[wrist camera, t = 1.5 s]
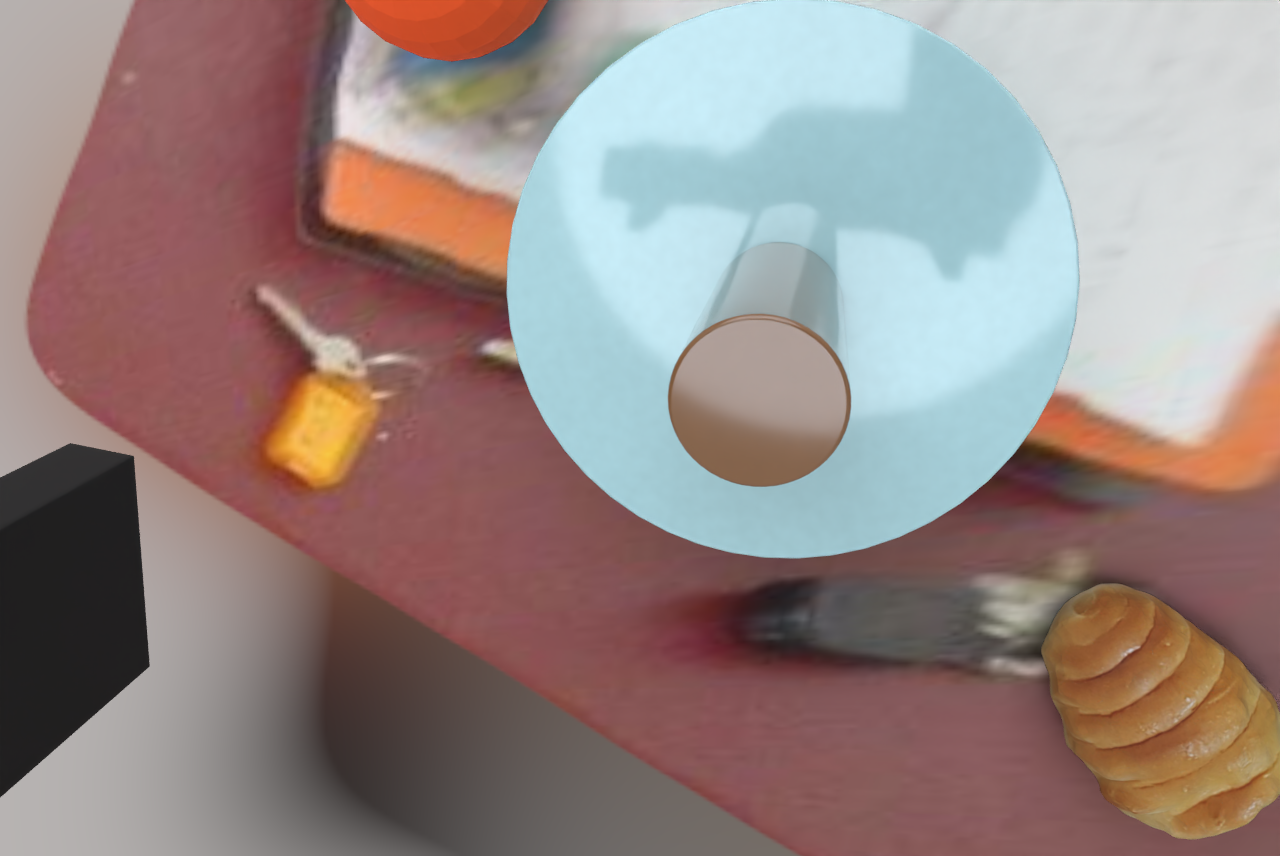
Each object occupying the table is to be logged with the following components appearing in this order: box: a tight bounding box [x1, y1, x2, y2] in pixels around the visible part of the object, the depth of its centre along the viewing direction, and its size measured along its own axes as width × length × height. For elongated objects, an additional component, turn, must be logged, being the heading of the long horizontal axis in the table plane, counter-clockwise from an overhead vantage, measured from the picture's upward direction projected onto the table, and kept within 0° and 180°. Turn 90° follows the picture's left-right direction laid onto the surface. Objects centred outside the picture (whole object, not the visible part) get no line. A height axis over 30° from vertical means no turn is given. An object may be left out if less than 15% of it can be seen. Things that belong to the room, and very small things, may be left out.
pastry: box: [1041, 583, 1280, 840], centre depth 34 cm, size 9×7×4 cm
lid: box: [507, 0, 1080, 558], centre depth 22 cm, size 15×15×9 cm
